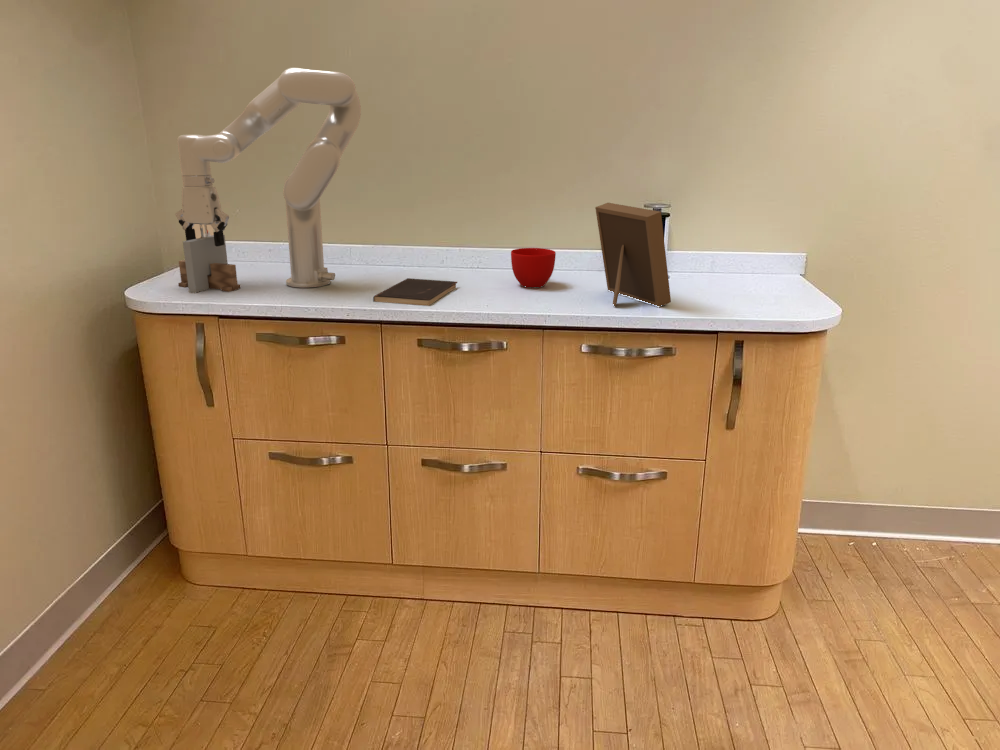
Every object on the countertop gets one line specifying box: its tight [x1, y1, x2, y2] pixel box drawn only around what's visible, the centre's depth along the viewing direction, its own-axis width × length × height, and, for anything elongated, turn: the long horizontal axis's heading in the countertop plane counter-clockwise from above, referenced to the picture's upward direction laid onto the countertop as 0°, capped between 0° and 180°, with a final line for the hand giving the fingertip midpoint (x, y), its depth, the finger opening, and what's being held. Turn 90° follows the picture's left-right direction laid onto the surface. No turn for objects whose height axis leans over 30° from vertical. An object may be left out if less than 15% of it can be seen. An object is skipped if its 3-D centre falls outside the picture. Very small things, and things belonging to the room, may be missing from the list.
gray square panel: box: [182, 234, 229, 293], centre depth 215 cm, size 2×14×14 cm, turn 159°
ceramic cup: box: [510, 247, 557, 288], centre depth 224 cm, size 13×17×10 cm
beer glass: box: [192, 224, 215, 239], centre depth 240 cm, size 7×7×15 cm
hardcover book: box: [372, 277, 458, 307], centre depth 212 cm, size 16×23×2 cm
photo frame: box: [594, 202, 672, 307], centre depth 203 cm, size 15×22×25 cm
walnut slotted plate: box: [178, 259, 242, 293], centre depth 216 cm, size 18×5×7 cm, turn 70°
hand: (205, 244), depth 213 cm, fingers open, 9 cm apart
